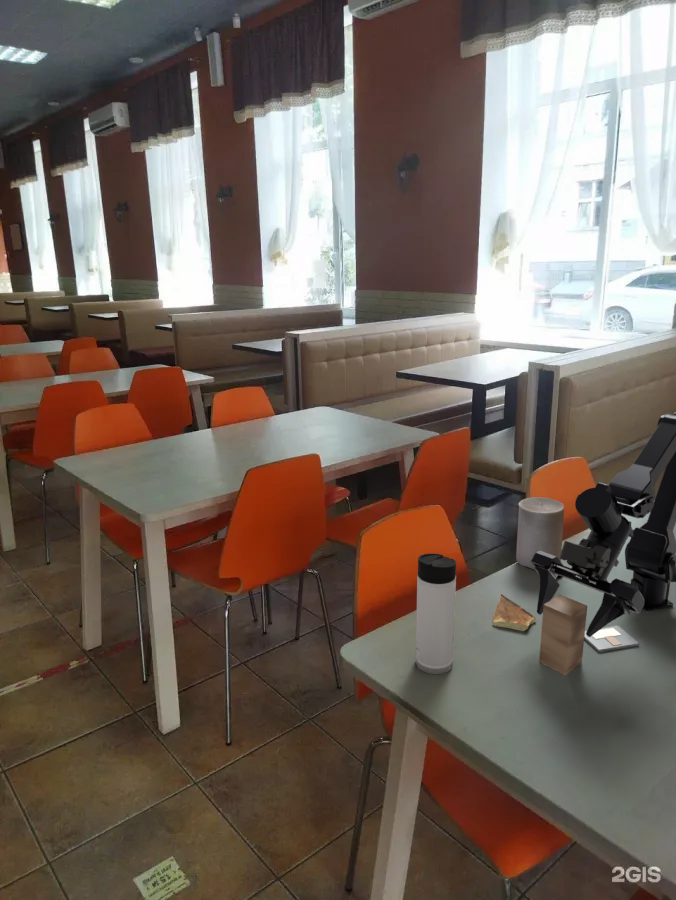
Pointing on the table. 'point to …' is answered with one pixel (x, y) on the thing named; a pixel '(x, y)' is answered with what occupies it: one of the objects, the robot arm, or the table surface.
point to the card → (610, 639)
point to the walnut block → (563, 634)
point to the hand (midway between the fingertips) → (562, 624)
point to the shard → (512, 615)
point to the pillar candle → (539, 528)
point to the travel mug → (435, 613)
